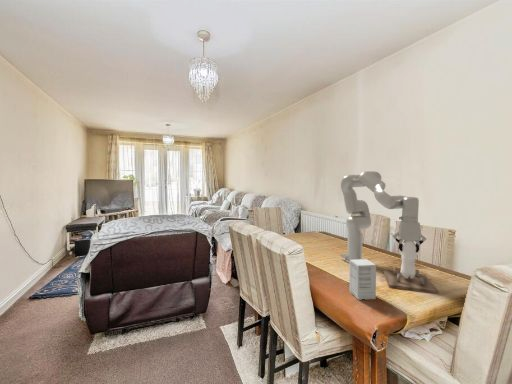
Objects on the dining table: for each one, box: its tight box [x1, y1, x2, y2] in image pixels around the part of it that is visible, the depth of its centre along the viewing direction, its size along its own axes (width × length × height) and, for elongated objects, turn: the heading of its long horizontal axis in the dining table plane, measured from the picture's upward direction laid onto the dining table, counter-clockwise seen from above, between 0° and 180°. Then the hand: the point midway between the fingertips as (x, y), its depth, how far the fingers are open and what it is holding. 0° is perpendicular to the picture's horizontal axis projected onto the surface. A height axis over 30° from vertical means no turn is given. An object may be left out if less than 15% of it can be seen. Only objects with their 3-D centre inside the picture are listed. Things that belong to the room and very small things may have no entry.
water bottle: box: [399, 240, 417, 279], centre depth 139 cm, size 7×7×25 cm
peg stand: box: [382, 266, 439, 295], centre depth 140 cm, size 22×22×6 cm
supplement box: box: [348, 258, 377, 301], centre depth 125 cm, size 10×9×17 cm
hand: (408, 251), depth 139 cm, fingers closed on water bottle, 7 cm apart
